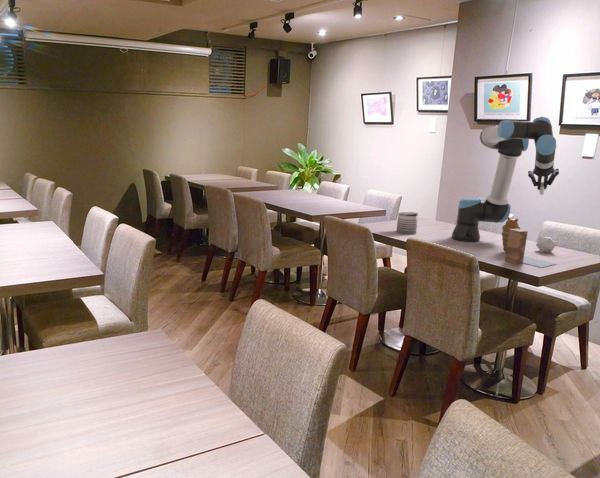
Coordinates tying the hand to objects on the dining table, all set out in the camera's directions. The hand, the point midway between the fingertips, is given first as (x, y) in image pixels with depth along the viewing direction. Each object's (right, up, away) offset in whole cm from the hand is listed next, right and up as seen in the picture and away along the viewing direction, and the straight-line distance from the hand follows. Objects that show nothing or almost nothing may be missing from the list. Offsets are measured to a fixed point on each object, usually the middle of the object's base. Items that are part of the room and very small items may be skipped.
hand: (541, 192), depth 245 cm
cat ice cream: (-10, -29, +16) cm, 35 cm away
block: (-16, -34, -7) cm, 38 cm away
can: (-54, -19, +52) cm, 77 cm away
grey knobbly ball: (+12, -29, +22) cm, 38 cm away
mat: (-6, -33, -1) cm, 34 cm away
